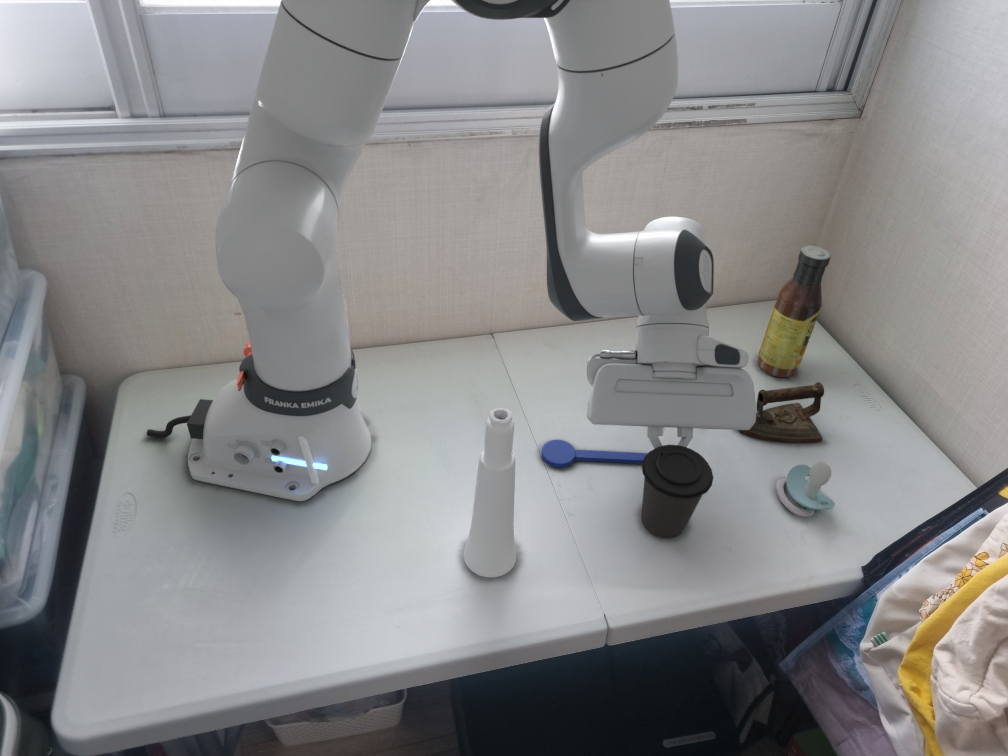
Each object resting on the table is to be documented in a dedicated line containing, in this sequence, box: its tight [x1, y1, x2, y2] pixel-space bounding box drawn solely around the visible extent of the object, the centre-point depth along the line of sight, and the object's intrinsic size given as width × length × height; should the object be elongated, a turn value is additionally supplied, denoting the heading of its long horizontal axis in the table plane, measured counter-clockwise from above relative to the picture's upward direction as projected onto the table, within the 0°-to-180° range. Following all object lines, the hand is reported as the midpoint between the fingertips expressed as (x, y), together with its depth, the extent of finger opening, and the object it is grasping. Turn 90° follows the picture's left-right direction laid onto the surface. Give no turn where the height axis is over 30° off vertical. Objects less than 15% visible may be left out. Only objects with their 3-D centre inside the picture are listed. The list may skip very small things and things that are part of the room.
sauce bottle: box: [757, 245, 832, 378], centre depth 111 cm, size 6×6×20 cm
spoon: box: [541, 439, 649, 469], centre depth 100 cm, size 16×4×1 cm, turn 90°
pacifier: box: [775, 460, 836, 518], centre depth 95 cm, size 7×6×6 cm
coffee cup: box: [640, 444, 714, 539], centre depth 90 cm, size 8×8×10 cm
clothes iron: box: [737, 381, 825, 444], centre depth 104 cm, size 7×11×10 cm, turn 101°
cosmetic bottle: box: [463, 406, 518, 579], centre depth 80 cm, size 6×6×22 cm
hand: (669, 465), depth 93 cm, fingers closed, pressing on coffee cup
